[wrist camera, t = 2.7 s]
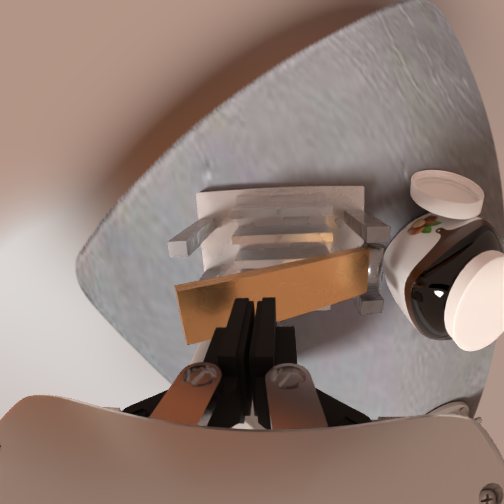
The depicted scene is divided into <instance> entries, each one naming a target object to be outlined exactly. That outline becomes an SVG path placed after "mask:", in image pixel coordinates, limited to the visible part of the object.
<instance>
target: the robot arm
mask: <svg viewBox="0 0 504 504" xmlns="http://www.w3.org/2000/svg"><path fill="white" fill-rule="evenodd" d="M252 400H253V408H254V416H257V417H258V423H259V424H260V425H261V426H262V427H264V428H265V429H266V430H264V429H235V428H232V427H233V426H235V425H237V424H244V422H245V416H250V415H251V408H252ZM468 416H469V408H468V406H467V404H466V403H465V402H460V401H457V402H452V403H448V404H446V405H443V406H441V407H439V408H437V409H435V410H433V411H431V412H430V413H428V414H425V415H417V416H408V417H378V419H377V420H370V418H369V417H367V416H366V415H365V414H363V413H361V412H359V411H357V410H355V409H353V408H351V407H349V406H347V405H346V404H344V403H342V402H340V401H338V400H336V399H334V398H333V397H331V396H329V395H327V394H325V393H324V392H322V391H320V390H318V389H316V388H315V386H314V383H313V380H312V377H311V375H310V373H309V371H308V370H307V369H306V368H305V367H303V366H301V365H298V364H297V355H296V341H295V328H294V326H293V327H277V326H276V298H275V297H263V298H262V301H257V307H256V313H255V309H254V301H249V298H235V301H234V304H233V307H232V310H231V314H230V317H229V320H228V323H227V326H226V327H217V328H216V329H215V331H214V334H213V336H212V339H211V342H210V344H209V347H208V350H207V352H206V355H205V358H204V361H203V362H198V363H193V364H191V365H188V366H187V367H185V368H184V369H183V370H182V371H181V372H180V373H179V375H178V376H177V378H176V379H175V381H174V382H173V384H172V385H171V387H170V388H169V389H168V390H166V391H164V392H162V393H159V394H157V395H155V396H153V397H150V398H148V399H145V400H143V401H140V402H138V403H136V404H133V405H131V406H129V407H127V408H125V409H124V410H123V411H121V410H120V408H110V407H100V406H96V405H92V404H88V403H85V402H81V401H77V400H74V399H69V398H65V397H60V396H52V395H33V396H28V397H25V398H23V399H22V400H20V401H19V402H18V403H16V404H15V405H14V406H13V407H12V408H11V409H10V410H9V411H8V412H7V413H6V414H5V416H4V417H3V418H2V419H1V420H0V504H504V459H503V458H502V455H501V453H500V452H499V450H498V448H497V446H496V445H495V443H494V441H493V440H492V438H491V437H490V435H489V434H488V433H487V431H486V430H485V429H484V428H483V427H482V426H481V424H480V423H481V422H482V419H481V417H478V418H475V419H471V418H469V417H468Z"/></svg>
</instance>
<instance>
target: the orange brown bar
mask: <svg viewBox="0 0 504 504" xmlns="http://www.w3.org/2000/svg"><path fill="white" fill-rule="evenodd" d="M384 249H385V246H384V245H382V244H378V243H364V244H362V245H361V247H356V248H352V249H347V250H343V251H338V252H334V253H329V254H325V255H320V256H316V257H311V258H306V259H302V260H297V261H293V262H288V263H283V264H278V265H274V266H269V267H264V268H259V269H255V270H250V271H245V272H240V273H235V274H230V275H225V276H220V277H215V278H210V279H205V280H200V281H195V282H190V283H185V284H180V285H175V291H176V297H177V302H178V307H179V312H180V317H181V322H182V327H183V332H184V336H185V339H186V342H187V345H190V344H194V343H199V342H203V341H207V340H211V339H212V336H213V334H214V331H215V329H216V328H217V327H226V326H227V323H228V320H229V317H230V314H231V310H232V307H233V304H234V301H235V298H249V301H254V309H255V313H256V307H257V301H262V298H263V297H275V298H276V322H278V321H282V320H285V319H289V318H292V317H295V316H298V315H302V314H305V313H308V312H311V311H314V310H317V309H320V308H323V307H326V306H329V305H332V304H335V303H338V302H341V301H344V300H347V299H350V298H352V297H355V296H358V295H361V294H364V293H366V292H368V293H375V292H378V291H380V290H381V283H382V273H383V262H384Z"/></svg>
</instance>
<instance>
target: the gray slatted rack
mask: <svg viewBox="0 0 504 504" xmlns="http://www.w3.org/2000/svg"><path fill="white" fill-rule="evenodd" d="M196 200H197V210H198V221H197V222H195V223H194V224H192V225H191V226H189V227H188V228H186V229H185V230H184V231H182V232H181V233H179V234H178V235H176V236H175V237H174V238H172V239H171V240H169V241H168V249H169V256H170V258H178V257H189V256H190V255H191V254H192V253H193V252H194V251H195V250H196V249H197V248H198V247H199V245H200V244H201V247H202V255H203V263H204V271H205V273H204V274H203V275H202V277H201V278H200V280H205V279H210V278H215V277H220V276H225V275H230V274H235V273H240V272H245V271H250V270H255V269H259V268H264V267H269V266H274V265H278V264H283V263H288V262H293V261H297V260H302V259H306V258H311V257H316V256H320V255H325V254H329V253H334V252H338V251H343V250H347V249H352V248H356V247H361V245H362V244H363V242H364V241H365V242H366V243H384V242H390V229H391V227H390V226H389V225H387V224H385V223H384V222H382V221H380V220H378V219H377V218H375V217H373V216H372V215H370V214H368V213H366V212H364V186H361V185H331V186H288V187H265V188H247V189H232V190H218V191H206V192H198V193H196ZM200 280H199V281H200ZM352 298H353V300H354V302H355V304H356V306H357V308H358V310H359V312H360V314H373V313H382V309H383V302H384V299H383V298H382V297H381V295H380V294H379V292H375V293H368V292H366V293H364V294H361V295H358V296H355V297H352ZM330 307H331V305H329V306H326V307H323V308H320V309H317V310H314V311H321V310H330Z"/></svg>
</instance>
